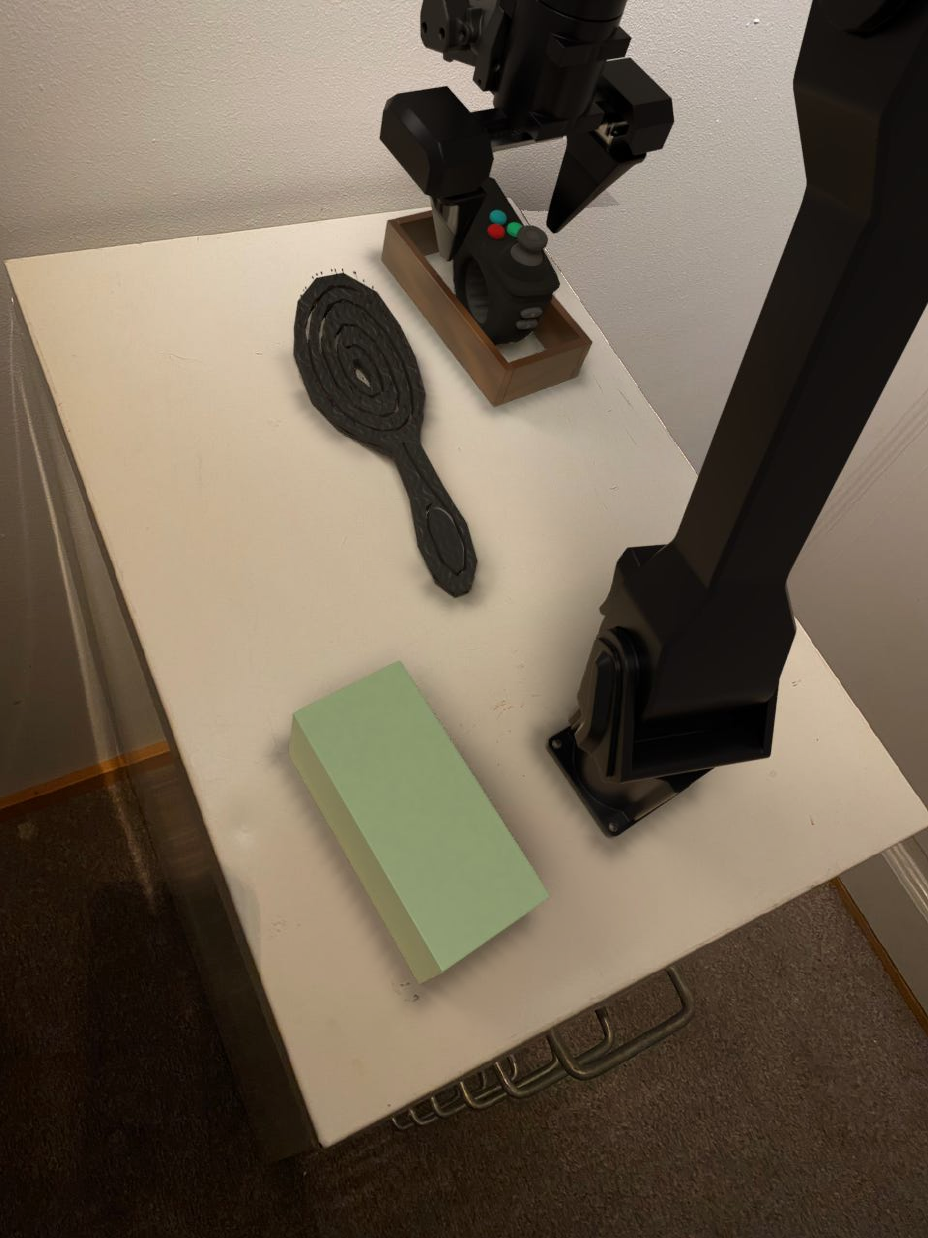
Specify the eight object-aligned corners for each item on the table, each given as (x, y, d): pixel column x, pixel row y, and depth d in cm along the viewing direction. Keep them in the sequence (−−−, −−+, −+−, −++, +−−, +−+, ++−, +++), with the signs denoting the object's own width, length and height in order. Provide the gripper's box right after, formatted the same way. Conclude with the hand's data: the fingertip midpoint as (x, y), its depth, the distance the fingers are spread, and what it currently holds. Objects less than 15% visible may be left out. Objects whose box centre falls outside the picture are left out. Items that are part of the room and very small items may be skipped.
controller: (483, 381, 60) (521, 267, 52) (422, 263, 65) (448, 140, 56) (535, 373, 62) (580, 261, 53) (472, 258, 66) (504, 138, 58)
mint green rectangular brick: (516, 917, 43) (551, 896, 38) (419, 984, 40) (442, 972, 35) (384, 704, 47) (400, 659, 42) (288, 753, 44) (292, 712, 39)
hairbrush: (408, 591, 47) (273, 268, 55) (397, 619, 50) (271, 310, 58) (533, 558, 50) (389, 257, 58) (515, 586, 53) (381, 297, 61)
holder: (577, 376, 62) (593, 341, 59) (493, 407, 59) (506, 371, 56) (464, 238, 67) (473, 199, 64) (380, 259, 64) (386, 219, 61)
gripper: (614, -97, 50) (539, 148, 64) (344, -84, 42) (323, 193, 56) (730, 8, 47) (625, 243, 60) (461, 43, 39) (409, 305, 52)
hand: (500, 242), depth 57 cm, fingers open, 9 cm apart
